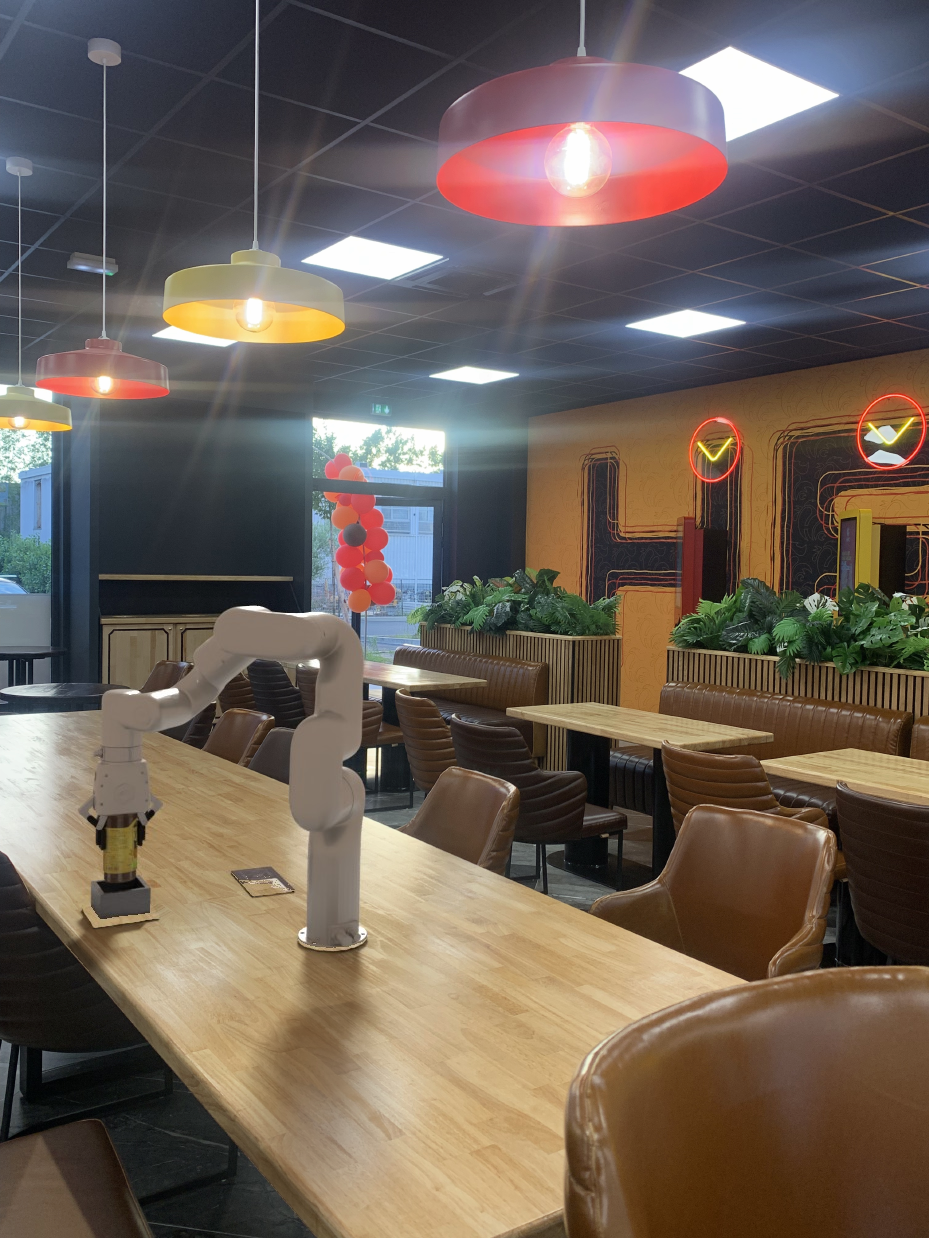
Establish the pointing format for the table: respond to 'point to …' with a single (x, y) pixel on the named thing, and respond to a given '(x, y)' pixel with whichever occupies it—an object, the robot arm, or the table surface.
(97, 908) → the condiment holder
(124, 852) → the sauce bottle
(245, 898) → the table surface
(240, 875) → the chocolate bar
